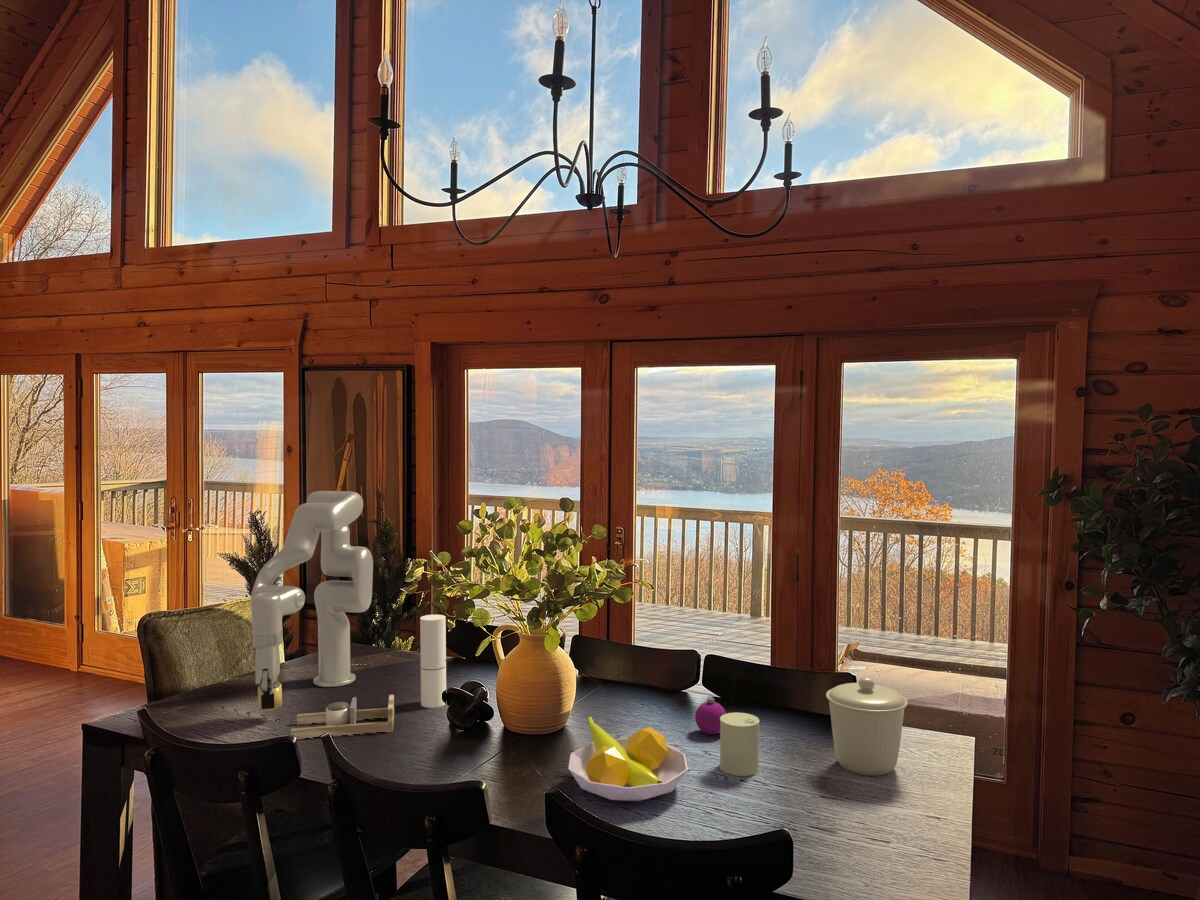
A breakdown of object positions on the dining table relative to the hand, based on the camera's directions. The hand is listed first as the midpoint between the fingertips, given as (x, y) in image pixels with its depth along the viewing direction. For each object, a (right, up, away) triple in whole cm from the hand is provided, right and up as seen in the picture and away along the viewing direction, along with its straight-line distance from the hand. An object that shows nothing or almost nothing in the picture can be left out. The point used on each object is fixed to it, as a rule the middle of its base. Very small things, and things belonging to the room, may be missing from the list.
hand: (270, 703), depth 222 cm
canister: (+152, -6, -31) cm, 155 cm away
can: (+122, -6, -31) cm, 126 cm away
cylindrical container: (+42, -4, +13) cm, 44 cm away
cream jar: (+20, -5, -6) cm, 22 cm away
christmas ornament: (+118, -5, -10) cm, 119 cm away
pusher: (+24, -4, -5) cm, 25 cm away
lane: (+22, -5, -5) cm, 23 cm away
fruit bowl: (+95, -6, -40) cm, 104 cm away
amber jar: (0, -1, 0) cm, 1 cm away
